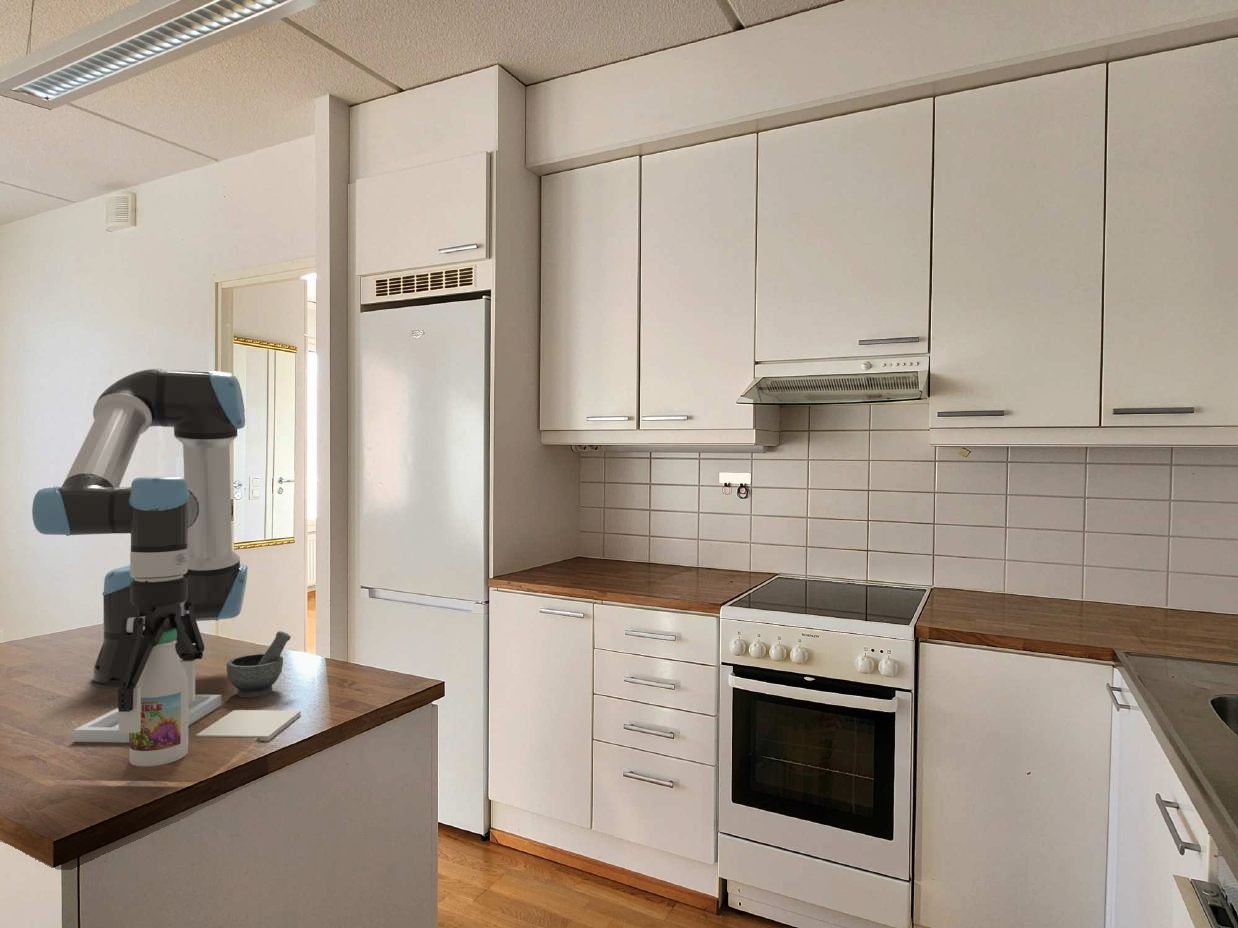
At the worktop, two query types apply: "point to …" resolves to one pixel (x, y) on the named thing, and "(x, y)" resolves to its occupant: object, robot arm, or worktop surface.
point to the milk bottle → (162, 707)
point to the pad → (251, 724)
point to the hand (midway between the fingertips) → (159, 715)
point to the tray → (109, 732)
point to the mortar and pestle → (258, 669)
